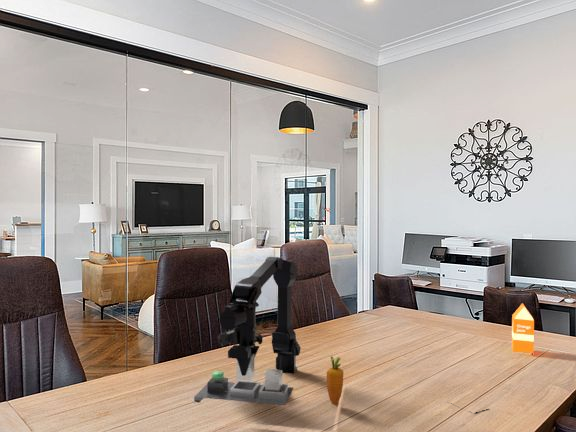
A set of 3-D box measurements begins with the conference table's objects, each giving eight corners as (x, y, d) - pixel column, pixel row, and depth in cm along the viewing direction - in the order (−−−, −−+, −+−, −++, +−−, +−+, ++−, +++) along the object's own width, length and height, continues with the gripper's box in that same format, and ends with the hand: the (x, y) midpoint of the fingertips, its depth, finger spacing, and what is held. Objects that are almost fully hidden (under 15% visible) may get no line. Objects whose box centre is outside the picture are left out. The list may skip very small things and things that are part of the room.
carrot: (325, 403, 142) (325, 353, 142) (341, 403, 142) (342, 353, 142) (327, 410, 137) (328, 358, 137) (344, 410, 138) (345, 358, 137)
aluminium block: (254, 375, 149) (254, 353, 149) (250, 380, 145) (250, 357, 144) (240, 374, 150) (241, 352, 150) (236, 379, 145) (236, 356, 145)
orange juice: (512, 353, 195) (513, 305, 195) (511, 348, 204) (512, 302, 203) (533, 356, 192) (534, 307, 192) (531, 350, 201) (532, 303, 200)
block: (282, 392, 147) (282, 370, 147) (279, 397, 143) (279, 374, 143) (268, 391, 148) (268, 368, 148) (264, 396, 144) (265, 373, 144)
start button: (225, 376, 150) (225, 371, 150) (221, 380, 147) (221, 375, 147) (214, 375, 151) (214, 370, 151) (210, 379, 147) (210, 374, 147)
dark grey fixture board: (293, 391, 151) (293, 378, 151) (285, 409, 138) (285, 394, 138) (210, 384, 157) (210, 371, 157) (194, 400, 143) (194, 386, 143)
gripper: (230, 315, 158) (230, 361, 158) (211, 328, 139) (210, 381, 139) (263, 316, 155) (262, 364, 156) (247, 331, 137) (247, 384, 137)
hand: (245, 372), depth 147 cm, fingers closed on aluminium block, 4 cm apart
